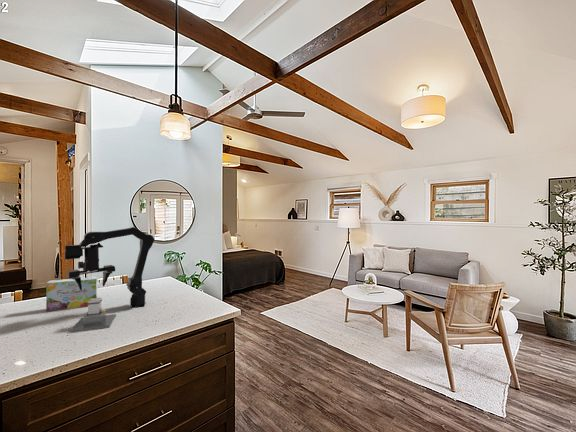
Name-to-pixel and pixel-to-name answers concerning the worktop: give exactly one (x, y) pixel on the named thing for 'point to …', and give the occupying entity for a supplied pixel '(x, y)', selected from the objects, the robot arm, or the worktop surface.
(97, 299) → the gray rectangular plug
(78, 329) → the stand base
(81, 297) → the snack box
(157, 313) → the worktop surface
